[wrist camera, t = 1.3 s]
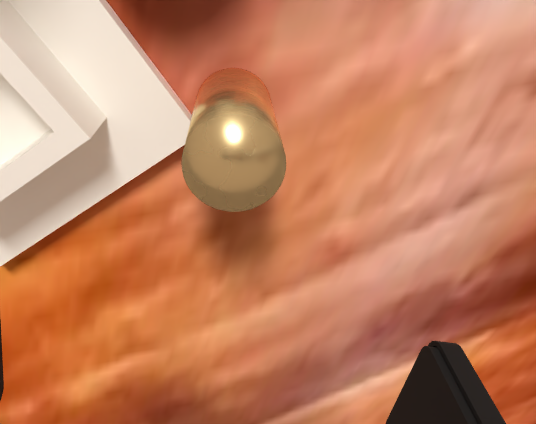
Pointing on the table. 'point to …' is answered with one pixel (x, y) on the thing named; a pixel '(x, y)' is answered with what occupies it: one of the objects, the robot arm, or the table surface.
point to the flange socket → (74, 114)
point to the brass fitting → (233, 143)
